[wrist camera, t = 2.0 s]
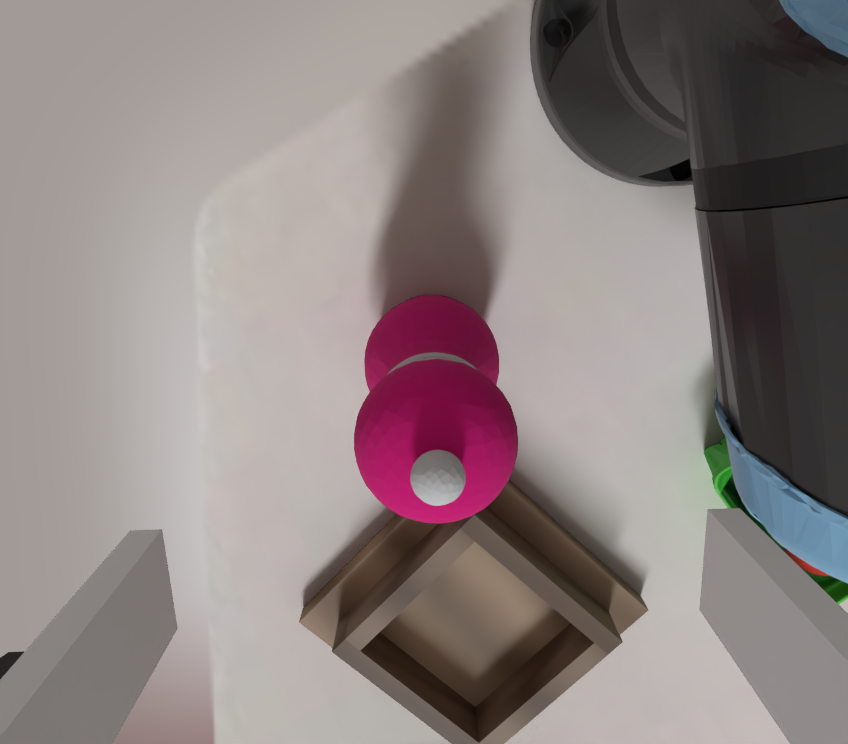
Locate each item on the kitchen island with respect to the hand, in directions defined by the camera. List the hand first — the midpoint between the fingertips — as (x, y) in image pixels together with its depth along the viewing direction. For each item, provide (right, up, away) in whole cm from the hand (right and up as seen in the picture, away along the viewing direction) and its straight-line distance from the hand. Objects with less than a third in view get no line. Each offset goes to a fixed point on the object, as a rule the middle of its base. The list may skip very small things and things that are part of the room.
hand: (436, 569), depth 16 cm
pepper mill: (0, +6, +24) cm, 25 cm away
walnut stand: (+3, -11, +28) cm, 30 cm away
